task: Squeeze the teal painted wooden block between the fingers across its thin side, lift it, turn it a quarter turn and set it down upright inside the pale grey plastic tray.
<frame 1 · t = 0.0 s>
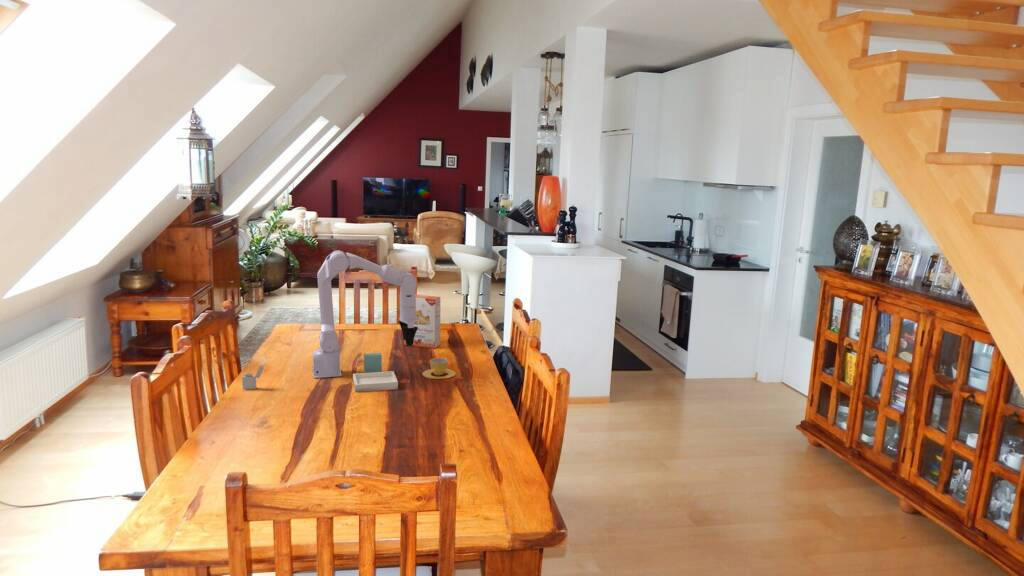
hand: (408, 342, 254), 10 cm above the table, tool pointing down, fingers open, 7 cm apart
tray: (375, 384, 238), on the table
teal block: (372, 373, 251), on the table
cup: (439, 375, 252), on the table
cracker box: (422, 346, 287), on the table
lighter: (254, 389, 232), on the table
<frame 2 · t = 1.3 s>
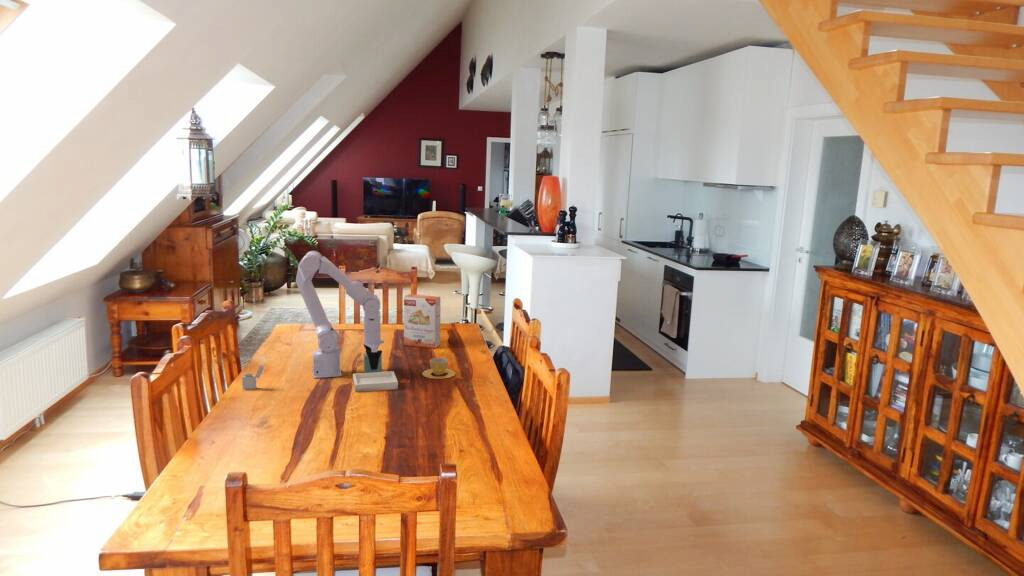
hand: (373, 366, 250), 3 cm above the table, tool pointing down, fingers open, 7 cm apart
nothing on the table moved.
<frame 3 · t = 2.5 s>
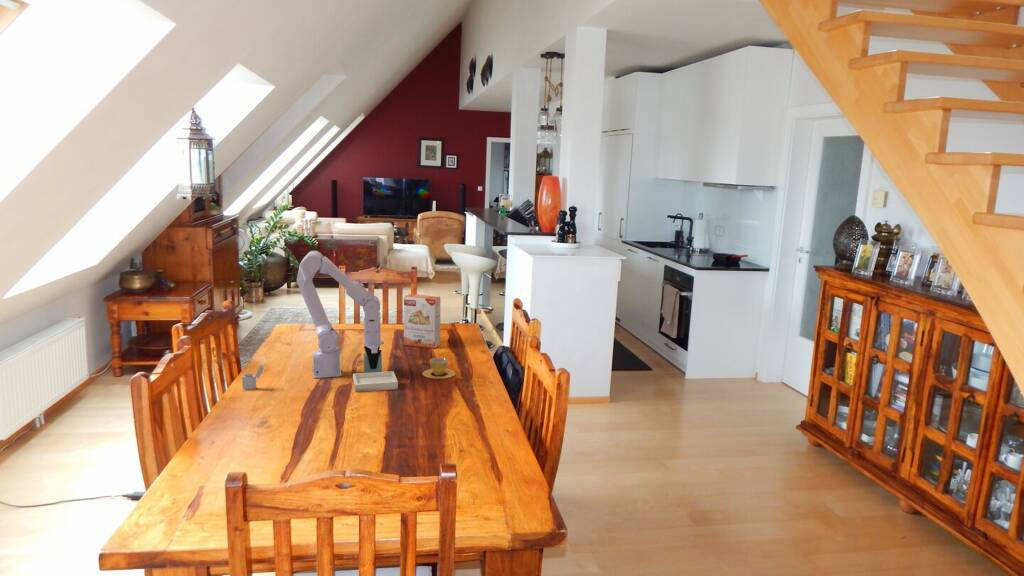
hand: (372, 367, 250), 2 cm above the table, tool pointing down, fingers closed on teal block, 3 cm apart
teal block: (372, 373, 251), on the table, touching gripper
everything else where it was.
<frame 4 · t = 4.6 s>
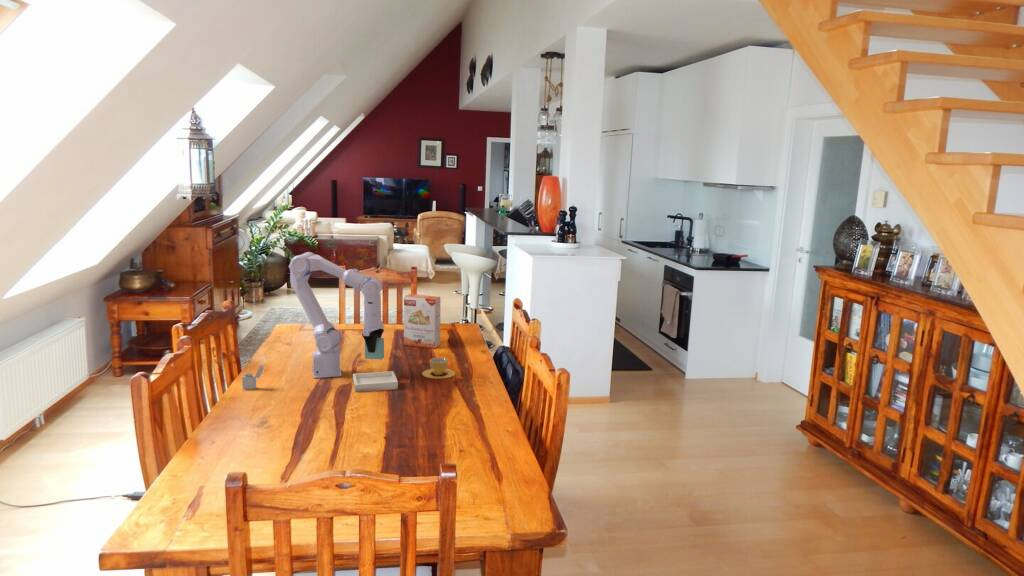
hand: (373, 350, 245), 9 cm above the table, tool pointing down, fingers closed on teal block, 3 cm apart
teal block: (374, 357, 246), point 7 cm above the table, touching gripper
everything else where it was.
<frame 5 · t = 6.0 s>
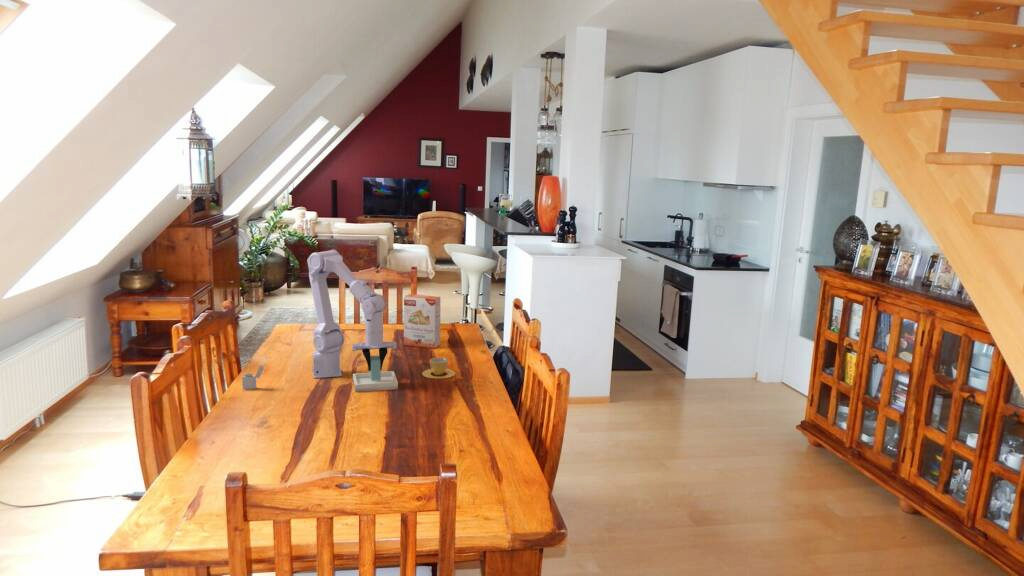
hand: (374, 369, 237), 5 cm above the table, tool pointing down, fingers closed on teal block, 3 cm apart
teal block: (375, 377, 237), point 3 cm above the table, touching gripper
everything else where it was.
when the fingers open (4 cm above the table, at t = 6.9 s): teal block stays where it is, resting on tray.
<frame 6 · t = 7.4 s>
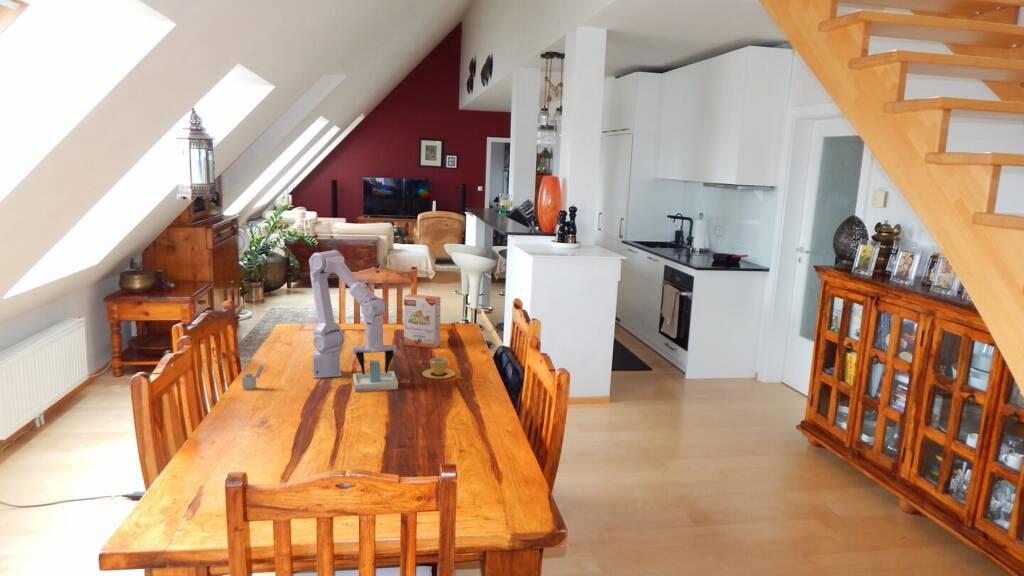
hand: (374, 372, 238), 4 cm above the table, tool pointing down, fingers open, 7 cm apart
teal block: (375, 382, 238), point 1 cm above the table, touching tray
everything else where it was.
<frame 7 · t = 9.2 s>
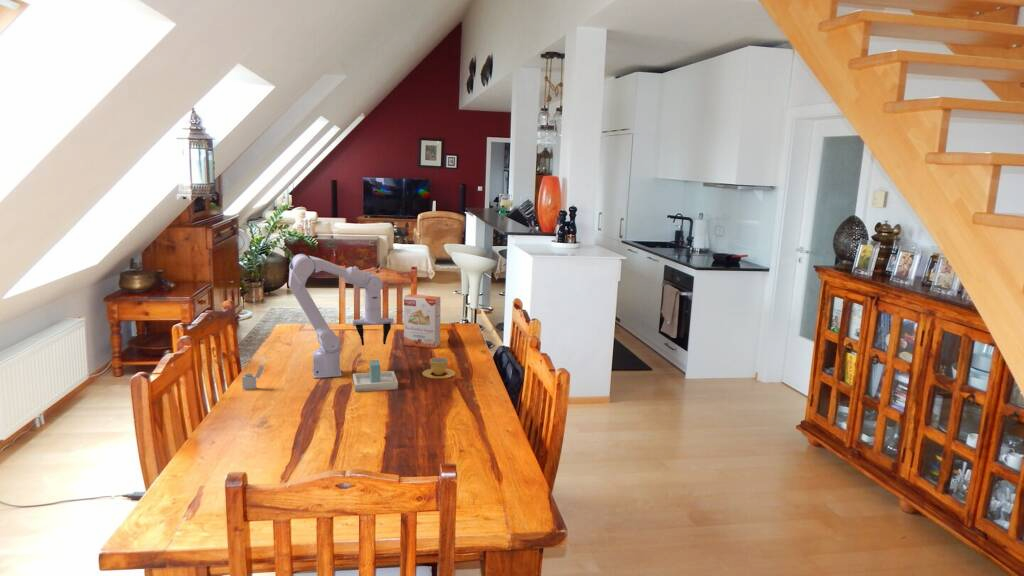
hand: (373, 344, 253), 9 cm above the table, tool pointing down, fingers open, 7 cm apart
nothing on the table moved.
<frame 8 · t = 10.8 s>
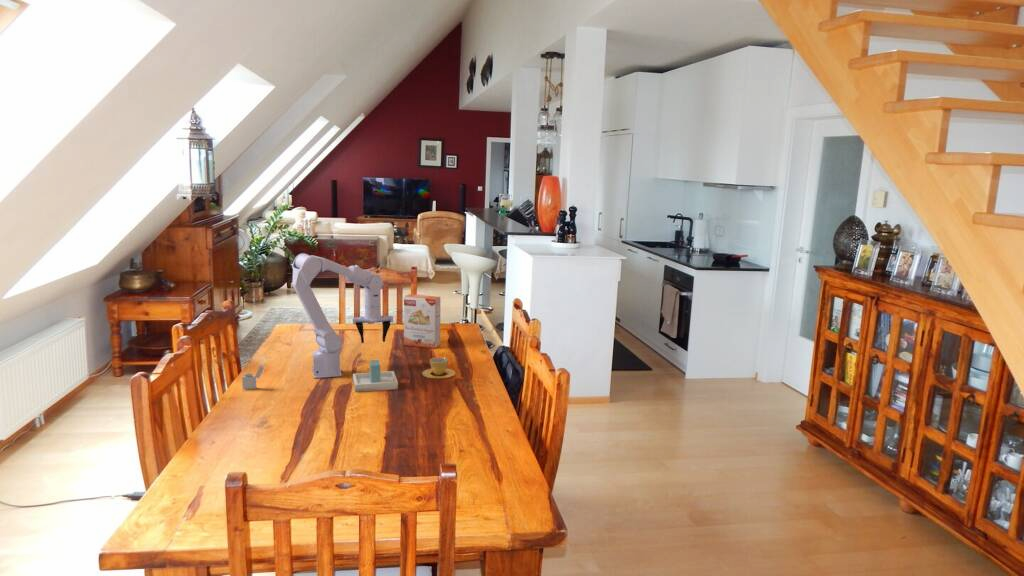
hand: (373, 341, 257), 9 cm above the table, tool pointing down, fingers open, 7 cm apart
nothing on the table moved.
at the end: teal block inside the target area on the tray (0.5 cm from its centre), point 1.0 cm above the tray's base; teal block tilted 0°; the gripper is holding nothing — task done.
